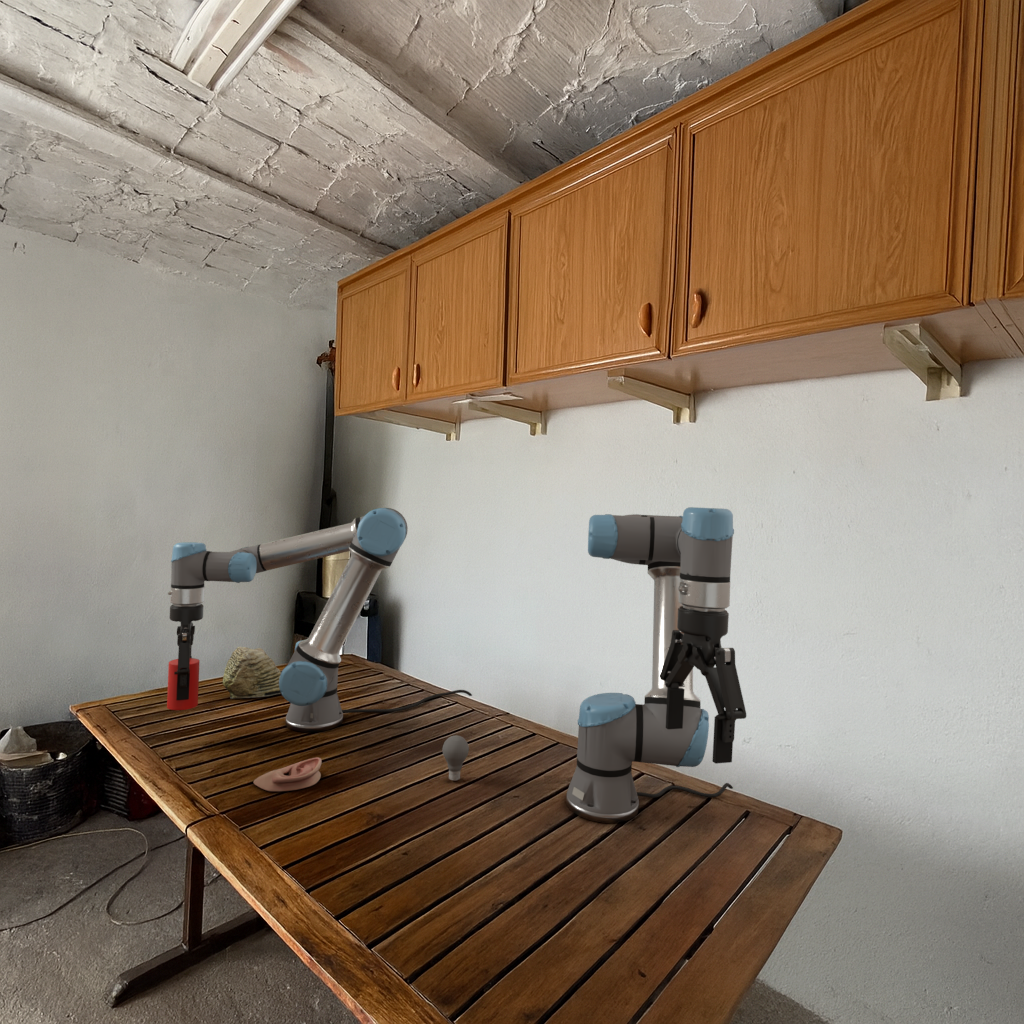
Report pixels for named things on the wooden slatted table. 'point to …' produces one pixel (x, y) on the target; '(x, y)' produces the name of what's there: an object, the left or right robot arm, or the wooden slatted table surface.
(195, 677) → the canister
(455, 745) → the light bulb
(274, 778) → the anatomical model
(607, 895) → the wooden slatted table surface
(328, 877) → the wooden slatted table surface
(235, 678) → the fossil
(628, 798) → the right robot arm
